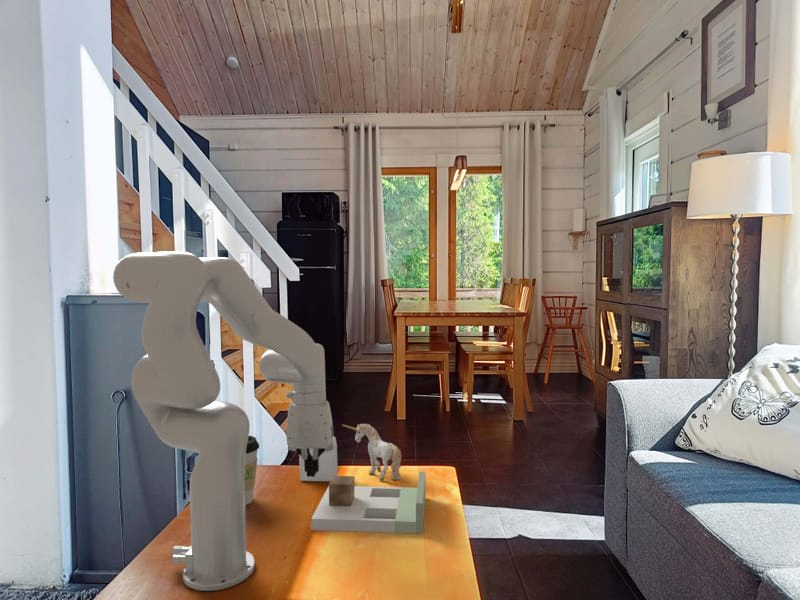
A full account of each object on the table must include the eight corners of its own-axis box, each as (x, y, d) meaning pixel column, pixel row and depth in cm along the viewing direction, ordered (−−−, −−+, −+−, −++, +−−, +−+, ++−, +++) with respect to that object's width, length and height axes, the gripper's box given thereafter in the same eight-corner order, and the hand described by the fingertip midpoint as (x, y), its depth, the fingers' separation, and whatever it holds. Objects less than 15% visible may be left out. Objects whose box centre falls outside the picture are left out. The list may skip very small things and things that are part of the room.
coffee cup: (209, 507, 125) (207, 444, 124) (234, 491, 134) (233, 433, 133) (244, 513, 121) (243, 448, 121) (268, 496, 131) (267, 436, 130)
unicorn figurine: (358, 464, 153) (358, 418, 152) (414, 478, 141) (414, 429, 141) (342, 471, 147) (341, 424, 146) (398, 487, 136) (398, 436, 135)
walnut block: (329, 505, 119) (328, 484, 119) (333, 496, 124) (333, 475, 124) (350, 506, 119) (350, 484, 119) (354, 497, 124) (354, 476, 124)
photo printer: (297, 482, 140) (296, 436, 139) (302, 476, 144) (301, 431, 143) (335, 483, 139) (335, 437, 138) (339, 477, 143) (338, 432, 142)
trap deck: (311, 530, 113) (311, 500, 113) (329, 495, 131) (328, 469, 131) (423, 533, 111) (422, 503, 111) (425, 497, 129) (425, 471, 129)
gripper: (272, 401, 118) (275, 480, 120) (338, 401, 117) (340, 481, 118) (282, 393, 126) (285, 467, 127) (344, 393, 124) (346, 468, 126)
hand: (311, 474), depth 123 cm, fingers closed
